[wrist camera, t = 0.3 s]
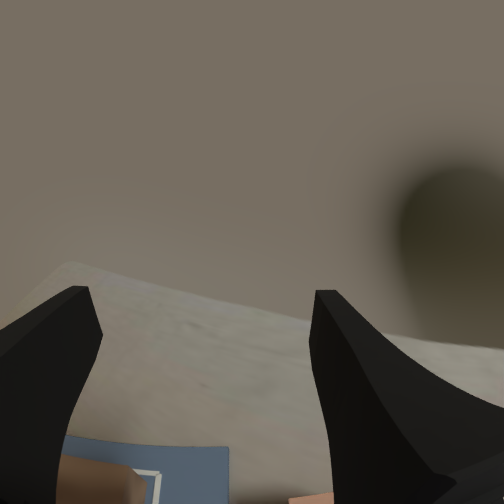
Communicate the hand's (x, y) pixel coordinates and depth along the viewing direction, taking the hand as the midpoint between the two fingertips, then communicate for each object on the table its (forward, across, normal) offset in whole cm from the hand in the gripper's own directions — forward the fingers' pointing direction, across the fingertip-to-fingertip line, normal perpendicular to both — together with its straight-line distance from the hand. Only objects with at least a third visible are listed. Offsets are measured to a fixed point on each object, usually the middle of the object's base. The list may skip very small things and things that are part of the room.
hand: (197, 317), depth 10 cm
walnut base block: (-2, +11, +21) cm, 24 cm away
